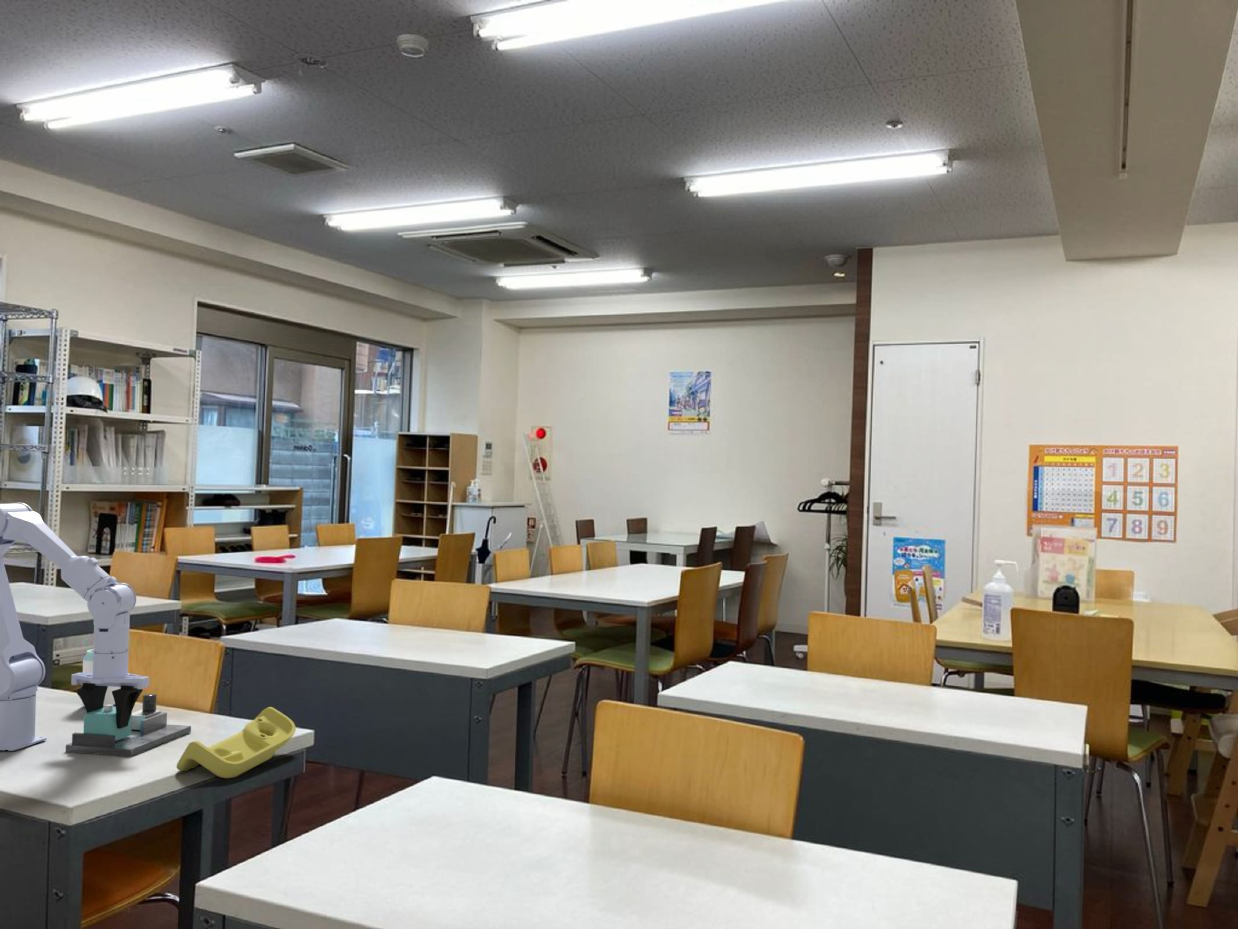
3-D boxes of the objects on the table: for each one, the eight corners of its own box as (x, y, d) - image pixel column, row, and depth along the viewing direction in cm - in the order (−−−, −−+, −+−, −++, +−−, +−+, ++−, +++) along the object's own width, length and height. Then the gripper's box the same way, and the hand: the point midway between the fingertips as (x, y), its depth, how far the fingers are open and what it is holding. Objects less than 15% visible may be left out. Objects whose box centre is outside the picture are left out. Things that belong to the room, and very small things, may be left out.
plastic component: (232, 767, 154) (186, 736, 157) (216, 805, 156) (171, 773, 158) (306, 729, 173) (264, 701, 176) (292, 763, 174) (250, 735, 177)
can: (85, 711, 199) (87, 653, 199) (78, 705, 204) (80, 649, 204) (122, 706, 203) (124, 650, 203) (114, 700, 208) (116, 646, 209)
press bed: (65, 751, 169) (66, 731, 169) (130, 728, 186) (131, 709, 186) (130, 756, 167) (131, 736, 167) (190, 732, 184) (191, 713, 184)
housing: (83, 742, 170) (84, 708, 170) (107, 733, 176) (107, 700, 176) (108, 743, 169) (109, 710, 169) (131, 735, 175) (132, 702, 175)
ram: (125, 728, 180) (126, 699, 180) (143, 722, 185) (144, 693, 185) (144, 730, 179) (145, 700, 179) (162, 723, 184) (163, 694, 184)
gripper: (59, 653, 170) (57, 729, 170) (131, 657, 168) (129, 734, 168) (88, 646, 177) (86, 719, 177) (157, 650, 175) (155, 724, 174)
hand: (108, 726), depth 173 cm, fingers closed on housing, 5 cm apart
